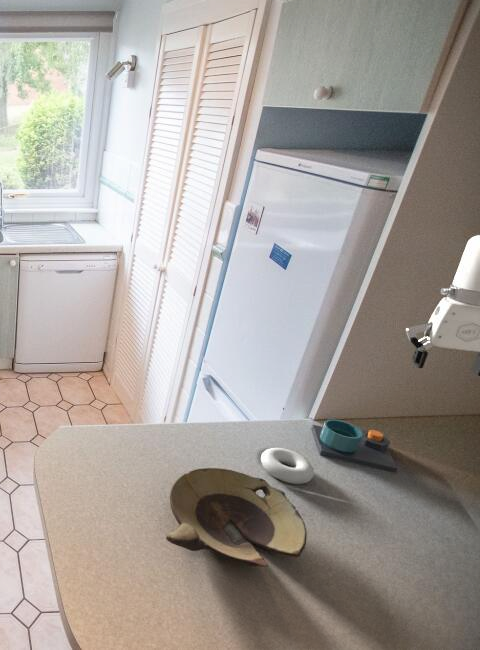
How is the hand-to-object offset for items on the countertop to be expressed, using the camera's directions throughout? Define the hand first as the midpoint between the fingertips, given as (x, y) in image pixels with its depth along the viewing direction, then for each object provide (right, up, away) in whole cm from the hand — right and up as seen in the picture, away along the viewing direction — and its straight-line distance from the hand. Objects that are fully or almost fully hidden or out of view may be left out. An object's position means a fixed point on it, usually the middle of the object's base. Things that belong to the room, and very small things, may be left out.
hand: (446, 369), depth 99 cm
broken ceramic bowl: (-56, -30, -10) cm, 65 cm away
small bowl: (-16, -19, +9) cm, 27 cm away
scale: (-13, -21, +10) cm, 26 cm away
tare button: (-8, -18, +9) cm, 21 cm away
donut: (-33, -24, +4) cm, 41 cm away
